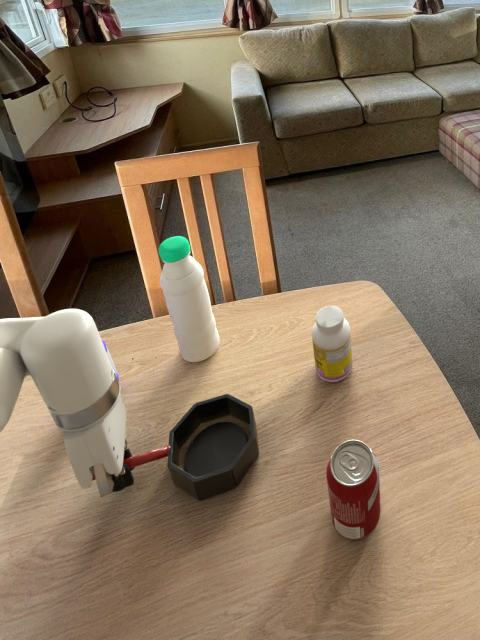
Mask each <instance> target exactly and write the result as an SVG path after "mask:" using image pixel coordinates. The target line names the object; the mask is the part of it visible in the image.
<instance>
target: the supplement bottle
mask: <svg viewBox="0 0 480 640" xmlns="http://www.w3.org/2000/svg"><path fill="white" fill-rule="evenodd" d="M351 333H352V332H351V326H350V323H349V322H348V320H347V319H346V318H345V316H344V312H343V310H342V308H340V307H338V306H336V305H326V306H324V307H322V308H320V309H319V310H318V311H317V313H316V315H315V323H314V324H313V326H312V329H311V339H312V341H311V342H312V348H313V350H312V351H313V358H314V366H315V371H316V373H317V375H318V377H319V378H320V379H321V380H323V381H325V382H328V383H337V382H340V381H342V380H344V379H346V378H347V377H348V376H349V374H351V371H352V370H353V369H352V368H353V349H352V334H351Z"/></svg>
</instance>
